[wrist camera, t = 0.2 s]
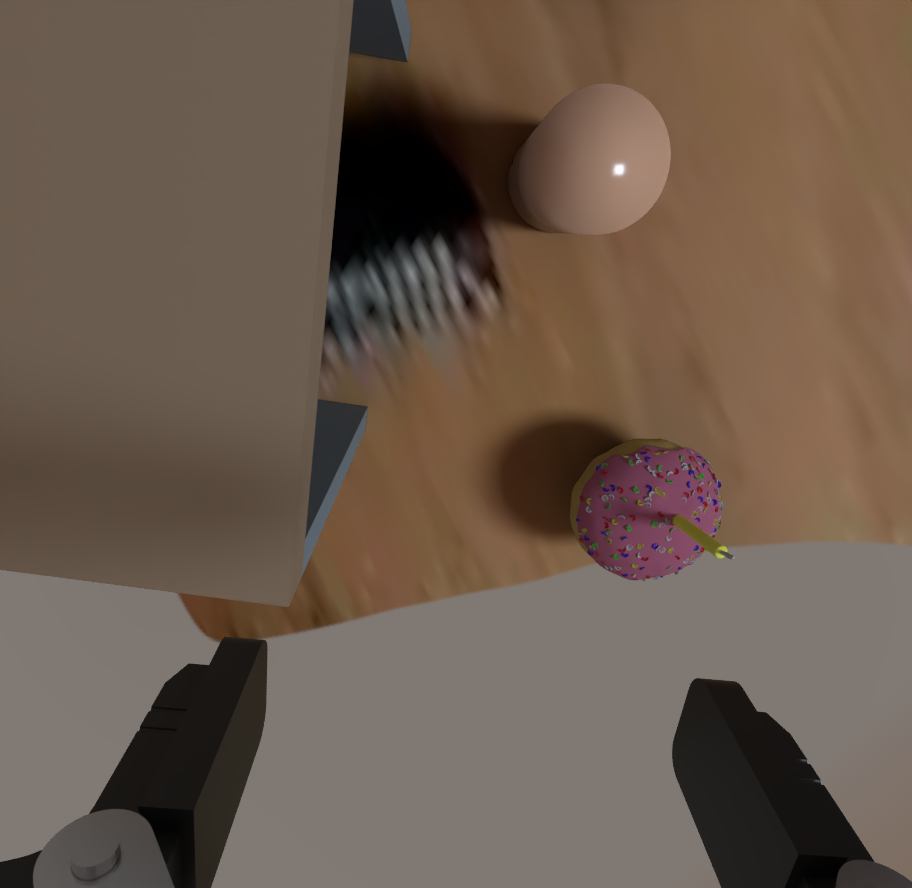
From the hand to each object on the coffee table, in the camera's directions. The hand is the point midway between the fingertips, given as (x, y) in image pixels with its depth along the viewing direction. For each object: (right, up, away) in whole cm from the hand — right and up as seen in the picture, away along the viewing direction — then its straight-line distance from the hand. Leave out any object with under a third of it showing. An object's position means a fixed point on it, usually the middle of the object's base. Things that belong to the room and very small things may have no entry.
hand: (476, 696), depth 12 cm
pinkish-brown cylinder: (+5, +19, +24) cm, 31 cm away
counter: (-9, +17, +25) cm, 31 cm away
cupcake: (+11, +2, +30) cm, 32 cm away
